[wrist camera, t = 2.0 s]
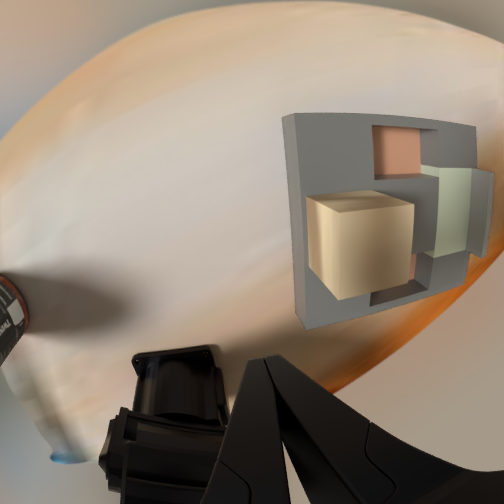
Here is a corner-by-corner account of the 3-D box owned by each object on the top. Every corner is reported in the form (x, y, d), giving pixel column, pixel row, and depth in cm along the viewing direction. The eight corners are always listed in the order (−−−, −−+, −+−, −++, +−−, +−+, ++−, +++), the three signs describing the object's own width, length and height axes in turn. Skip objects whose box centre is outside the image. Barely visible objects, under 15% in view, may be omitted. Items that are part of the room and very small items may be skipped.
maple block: (308, 266, 18) (338, 300, 14) (305, 196, 17) (339, 213, 13) (369, 255, 19) (407, 283, 15) (370, 189, 17) (414, 204, 13)
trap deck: (295, 312, 22) (315, 347, 18) (281, 117, 17) (306, 109, 13) (447, 273, 24) (478, 293, 20) (455, 125, 19) (493, 128, 15)
